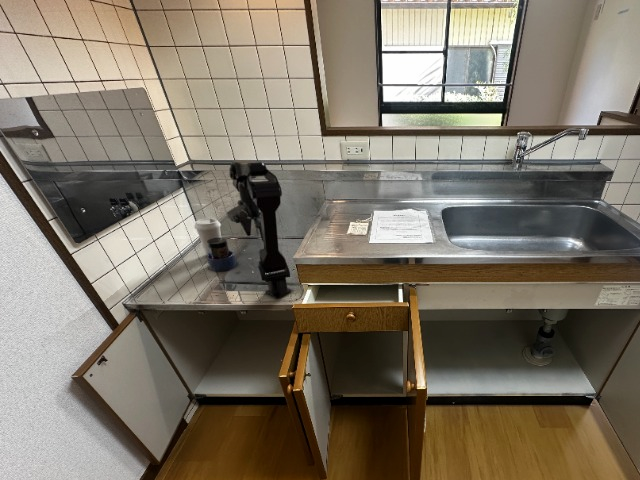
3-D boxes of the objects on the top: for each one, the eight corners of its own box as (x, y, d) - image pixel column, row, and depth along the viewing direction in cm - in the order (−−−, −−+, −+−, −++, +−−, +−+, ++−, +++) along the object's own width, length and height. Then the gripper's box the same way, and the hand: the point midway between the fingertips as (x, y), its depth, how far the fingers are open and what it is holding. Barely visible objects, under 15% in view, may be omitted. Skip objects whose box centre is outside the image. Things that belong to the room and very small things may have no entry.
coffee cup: (222, 259, 136) (213, 225, 128) (198, 259, 135) (188, 224, 127) (231, 250, 144) (223, 217, 136) (208, 250, 143) (199, 217, 135)
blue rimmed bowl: (241, 265, 133) (238, 254, 130) (218, 273, 125) (215, 261, 123) (227, 258, 137) (224, 247, 134) (204, 266, 130) (201, 255, 127)
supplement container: (224, 260, 135) (218, 236, 129) (235, 263, 132) (230, 239, 127) (209, 265, 129) (202, 241, 124) (221, 270, 127) (215, 245, 122)
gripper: (212, 196, 114) (222, 238, 122) (245, 207, 106) (253, 251, 114) (240, 191, 122) (248, 231, 130) (273, 201, 114) (279, 242, 122)
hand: (256, 238), depth 124 cm, fingers open, 9 cm apart
